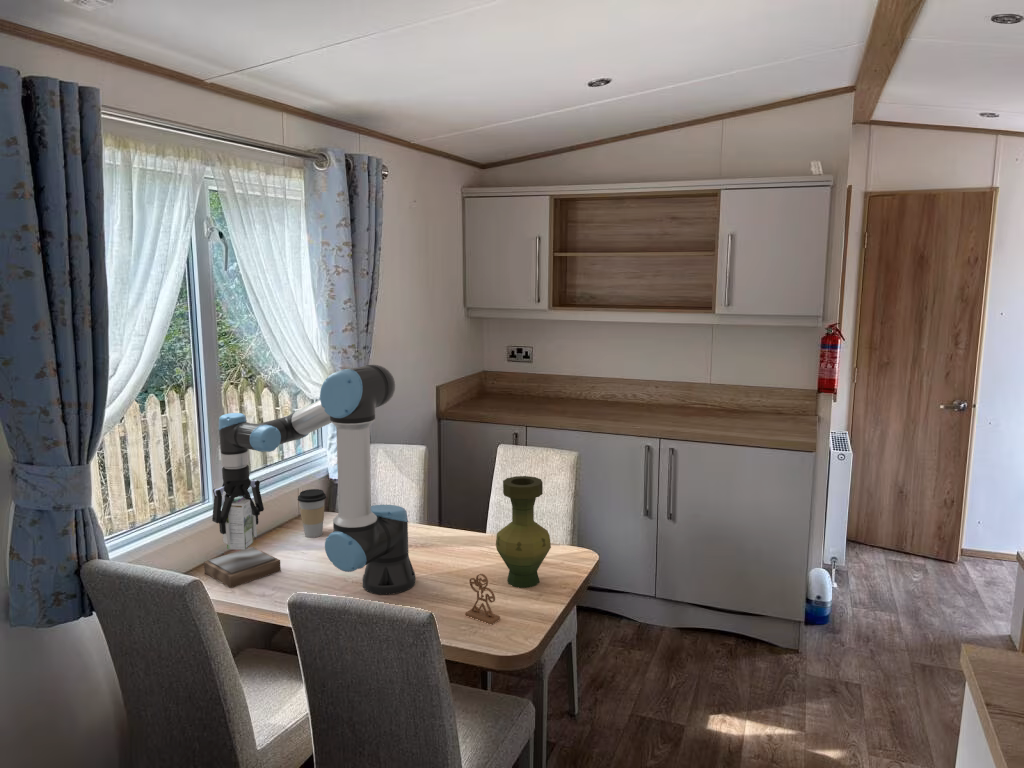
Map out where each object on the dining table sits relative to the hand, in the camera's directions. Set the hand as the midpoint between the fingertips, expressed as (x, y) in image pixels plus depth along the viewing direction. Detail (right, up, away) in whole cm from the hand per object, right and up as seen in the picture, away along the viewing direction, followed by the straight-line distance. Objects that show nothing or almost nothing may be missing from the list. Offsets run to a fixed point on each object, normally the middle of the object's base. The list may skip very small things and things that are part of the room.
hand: (240, 539), depth 227 cm
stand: (0, -10, +2) cm, 10 cm away
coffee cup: (+14, -5, +32) cm, 35 cm away
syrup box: (0, -2, 0) cm, 2 cm away
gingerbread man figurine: (+74, -15, -29) cm, 80 cm away
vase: (+85, -11, -7) cm, 86 cm away
